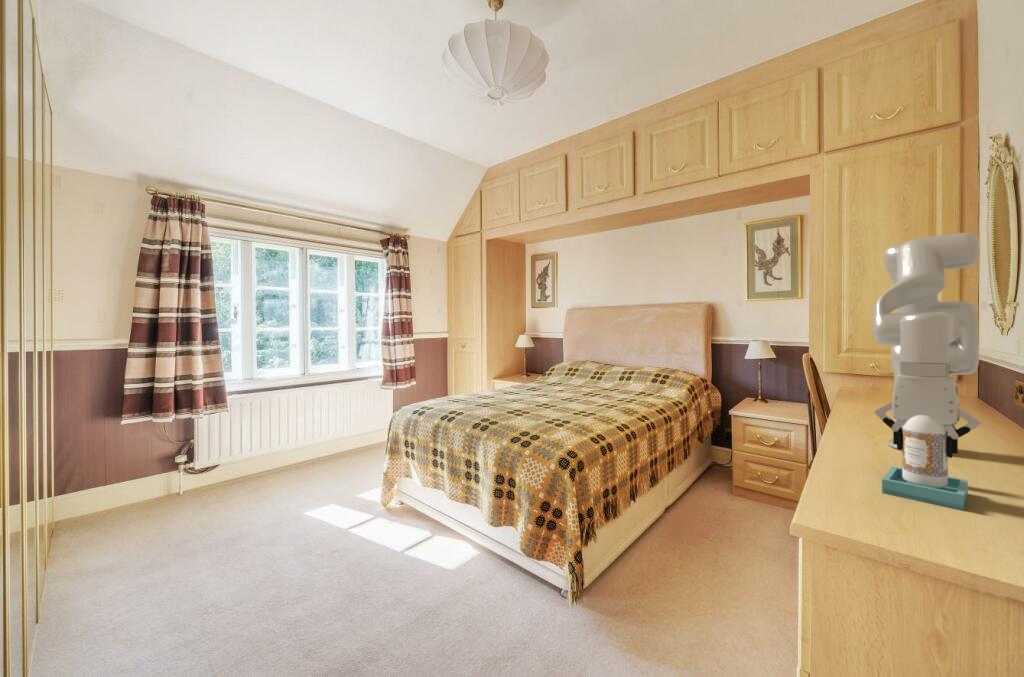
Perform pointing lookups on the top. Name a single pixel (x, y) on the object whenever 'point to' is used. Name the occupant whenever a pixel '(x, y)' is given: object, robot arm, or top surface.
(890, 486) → the holder tray
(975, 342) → the robot arm
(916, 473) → the bath foam
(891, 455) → the top surface
